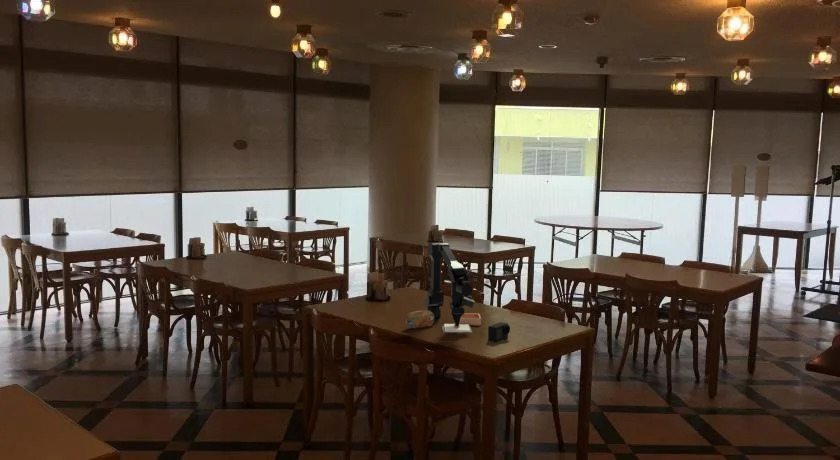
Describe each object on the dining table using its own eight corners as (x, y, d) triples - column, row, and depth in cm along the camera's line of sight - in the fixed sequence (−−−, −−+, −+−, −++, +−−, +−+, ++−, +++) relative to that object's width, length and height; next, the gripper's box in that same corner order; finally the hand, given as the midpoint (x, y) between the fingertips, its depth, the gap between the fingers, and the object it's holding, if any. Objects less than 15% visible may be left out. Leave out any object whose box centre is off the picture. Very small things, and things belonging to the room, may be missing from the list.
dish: (459, 326, 355) (459, 318, 355) (458, 321, 366) (458, 313, 365) (480, 326, 355) (480, 318, 355) (479, 321, 366) (479, 313, 365)
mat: (442, 333, 342) (442, 332, 342) (442, 326, 355) (442, 325, 355) (472, 333, 342) (472, 332, 342) (470, 326, 355) (470, 325, 355)
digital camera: (497, 343, 325) (498, 327, 324) (487, 340, 328) (488, 326, 328) (510, 338, 333) (510, 323, 332) (500, 336, 336) (500, 321, 336)
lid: (445, 332, 342) (445, 321, 342) (444, 325, 354) (444, 316, 353) (470, 332, 342) (470, 321, 342) (468, 325, 354) (468, 316, 353)
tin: (407, 330, 348) (407, 313, 347) (404, 328, 351) (404, 311, 350) (434, 326, 355) (434, 309, 354) (431, 325, 357) (431, 308, 357)
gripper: (475, 296, 337) (474, 328, 339) (472, 288, 355) (472, 319, 357) (451, 296, 337) (451, 328, 339) (450, 288, 355) (449, 319, 357)
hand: (456, 323), depth 348 cm, fingers open, 9 cm apart
